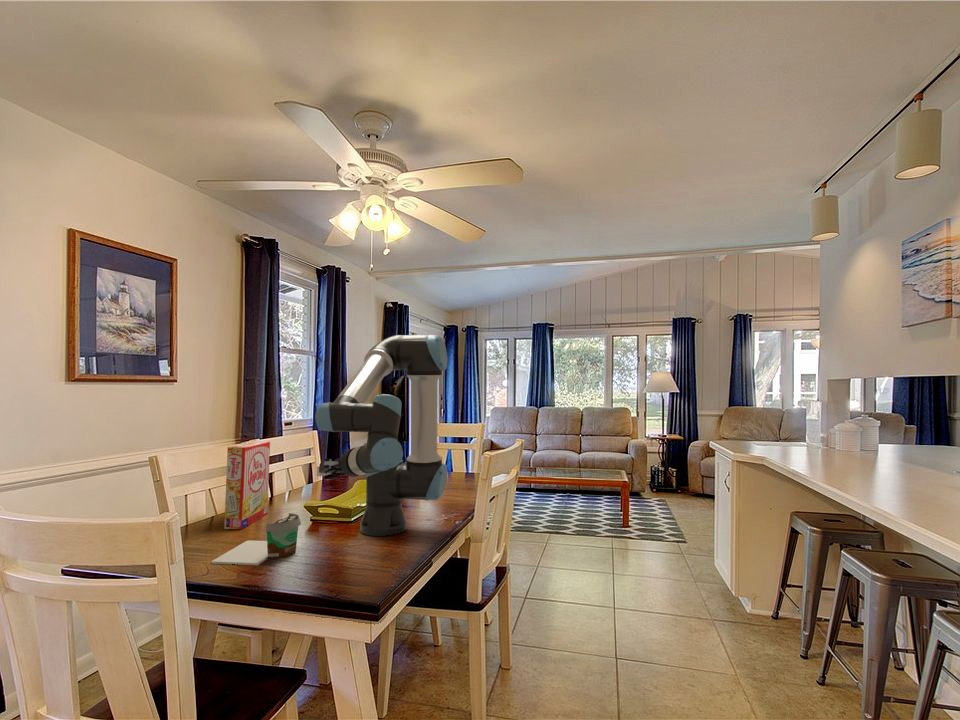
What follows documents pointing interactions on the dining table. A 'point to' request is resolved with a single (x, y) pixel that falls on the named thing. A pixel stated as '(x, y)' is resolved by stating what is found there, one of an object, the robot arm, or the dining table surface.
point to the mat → (245, 554)
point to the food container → (282, 537)
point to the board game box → (246, 484)
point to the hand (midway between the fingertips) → (319, 471)
